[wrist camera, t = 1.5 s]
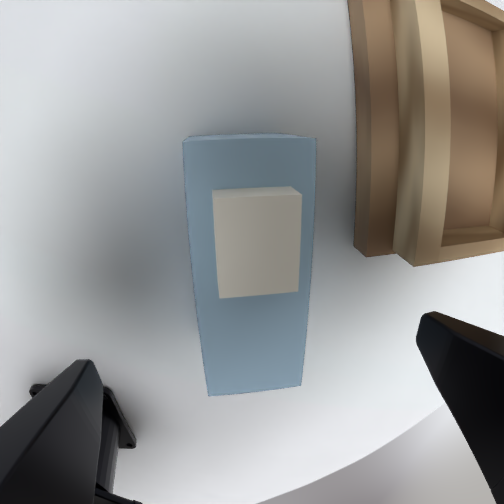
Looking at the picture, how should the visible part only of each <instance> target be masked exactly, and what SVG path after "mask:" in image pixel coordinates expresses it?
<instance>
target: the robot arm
mask: <svg viewBox="0 0 504 504" xmlns="http://www.w3.org/2000/svg"><path fill="white" fill-rule="evenodd" d="M416 343H417V346H418V348H419V350H420V352H421V354H422V356H423V359H424V361H425V363H426V365H427V367H428V369H429V372H430V374H431V376H432V378H433V380H434V382H435V384H436V386H437V388H438V390H439V392H440V393H441V395H442V397H443V399H444V400H445V402H446V404H447V406H448V407H449V409H450V411H451V413H452V415H453V417H454V418H455V420H456V422H457V424H458V426H459V428H460V429H461V431H462V433H463V435H464V437H465V439H466V441H467V443H468V445H469V447H470V449H471V450H472V452H473V454H474V456H475V458H476V460H477V462H478V464H479V466H480V468H481V470H482V473H483V475H484V477H485V479H486V481H487V483H488V485H489V488H490V489H491V492H492V494H493V497H494V499H495V501H496V504H504V336H502V335H499V334H496V333H494V332H491V331H488V330H485V329H483V328H480V327H477V326H474V325H472V324H469V323H466V322H463V321H461V320H458V319H455V318H452V317H450V316H447V315H444V314H441V313H439V312H436V311H433V312H429V313H425V314H423V315H422V317H421V319H420V324H419V327H418V331H417V335H416ZM29 392H30V394H31V396H32V399H31V400H30V401H29V402H28V403H26V404H25V405H24V406H23V407H22V408H21V409H20V410H19V411H17V412H16V413H15V414H14V415H13V416H12V417H11V418H10V419H9V420H7V421H6V422H5V423H4V424H3V425H2V426H1V427H0V504H142V503H141V502H138V501H135V500H133V501H132V500H129V499H126V498H123V497H120V496H117V495H115V494H112V493H113V484H114V476H115V468H116V461H117V454H118V448H127V449H133V448H135V447H136V443H137V442H136V440H135V438H134V436H133V434H132V432H131V430H130V428H129V427H128V425H127V423H126V421H125V419H124V417H123V415H122V413H121V411H120V409H119V407H118V405H117V402H116V400H115V398H114V396H113V394H112V392H111V391H110V390H109V389H107V388H103V384H102V381H101V379H100V376H99V374H98V372H97V370H96V367H95V365H94V363H93V361H92V360H90V359H79V360H76V361H75V362H73V363H72V364H71V365H70V366H69V367H68V368H66V369H65V370H64V371H63V372H62V373H61V374H60V375H58V376H57V377H56V378H55V379H54V380H53V381H51V382H50V383H49V384H48V385H47V386H37V385H33V386H31V388H30V391H29Z"/></svg>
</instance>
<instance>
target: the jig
mask: <svg viewBox="0 0 504 504" xmlns="http://www.w3.org/2000/svg"><path fill="white" fill-rule="evenodd" d="M348 7H349V16H350V25H351V35H352V47H353V60H354V75H355V94H356V127H357V176H356V210H355V230H354V247H355V248H356V249H357V250H359V251H360V252H361V253H362V254H363V255H364V256H365V257H372V256H380V255H388V254H396V253H397V254H398V255H399V256H400V257H402V258H403V259H404V260H406V261H407V262H408V263H409V264H411V265H412V266H413V267H416V266H422V265H428V264H434V263H440V262H446V261H452V260H457V259H463V258H469V257H474V256H480V255H485V254H490V253H496V252H501V251H504V11H503V10H501V9H499V8H498V7H496V6H494V5H492V4H490V3H489V2H487V1H485V0H348Z"/></svg>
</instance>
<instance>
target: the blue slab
mask: <svg viewBox="0 0 504 504" xmlns="http://www.w3.org/2000/svg"><path fill="white" fill-rule="evenodd" d="M183 162H184V179H185V194H186V208H187V221H188V233H189V244H190V255H191V265H192V275H193V284H194V293H195V302H196V310H197V319H198V327H199V334H200V342H201V349H202V357H203V364H204V371H205V377H206V384H207V390H208V396H219V395H231V394H241V393H250V392H259V391H267V390H275V389H282V388H289V387H295V386H301V382H302V373H303V364H304V354H305V344H306V333H307V322H308V310H309V297H310V283H311V268H312V252H313V233H314V210H315V180H316V138H310V137H303V136H296V135H289V134H281V133H258V134H224V135H204V136H189V137H188V138H187V139H185V140H184V141H183Z"/></svg>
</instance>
